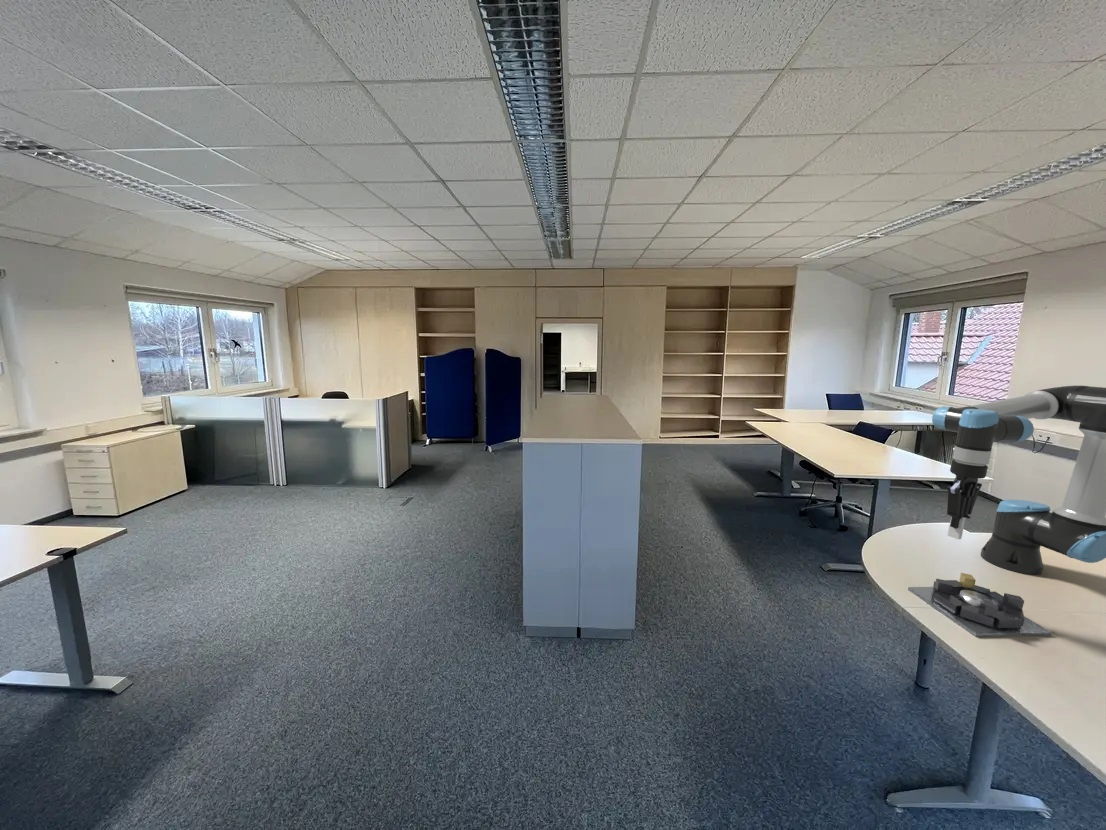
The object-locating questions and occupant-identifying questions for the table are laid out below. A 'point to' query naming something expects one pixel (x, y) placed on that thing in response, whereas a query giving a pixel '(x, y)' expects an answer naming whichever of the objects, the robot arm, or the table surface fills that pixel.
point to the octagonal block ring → (987, 610)
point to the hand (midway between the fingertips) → (954, 537)
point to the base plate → (973, 626)
